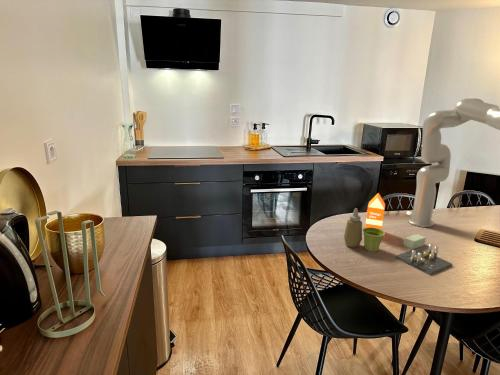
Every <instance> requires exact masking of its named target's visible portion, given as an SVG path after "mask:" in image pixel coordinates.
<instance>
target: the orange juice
mask: <svg viewBox="0 0 500 375" xmlns="http://www.w3.org/2000/svg"><path fill="white" fill-rule="evenodd" d="M385 208H386V203H385V201H384V200H383V198H382V196H381V194H380V193H379V192H378V193H377V194H376V195H375V196H373V198H371V200H370V201H369V202H368V205H367V210H366V219H365V227H364V228H366V227H374V228H378V229H381V230H382V228H383V221H384V213H385Z"/></svg>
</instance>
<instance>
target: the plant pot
mask: <svg viewBox="0 0 500 375" xmlns="http://www.w3.org/2000/svg"><path fill="white" fill-rule="evenodd" d="M362 233H363V239H364V240H363V241H364V242H363V245H364V246H363V248H364V249H365V250H366V251H368V252H378V251H379V250H380V246H381V242H382V239H383V237H384V236H385V234H386V233H385V231H384V230H382V229H378V228H374V227H366V228H365V227H364V228H362Z"/></svg>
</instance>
